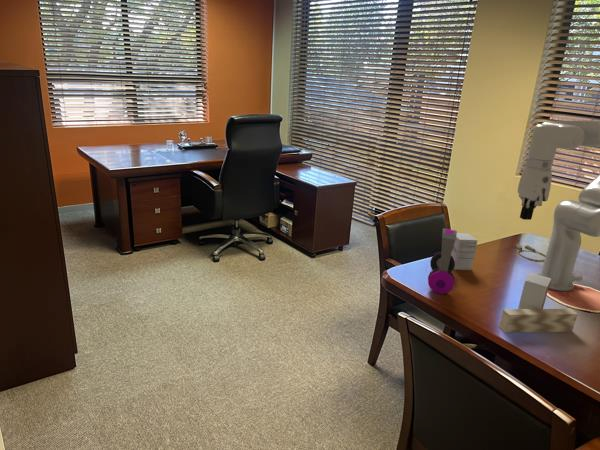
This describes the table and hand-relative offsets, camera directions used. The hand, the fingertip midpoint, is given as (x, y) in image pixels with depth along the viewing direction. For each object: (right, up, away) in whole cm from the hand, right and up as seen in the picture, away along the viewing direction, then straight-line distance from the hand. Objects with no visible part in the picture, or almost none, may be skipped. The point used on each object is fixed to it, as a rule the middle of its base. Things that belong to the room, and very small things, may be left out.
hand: (525, 218), depth 147 cm
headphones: (-24, -23, +13) cm, 36 cm away
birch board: (-4, -33, -13) cm, 36 cm away
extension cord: (+25, -15, +45) cm, 54 cm away
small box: (-2, -31, -6) cm, 32 cm away
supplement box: (-12, -18, +28) cm, 35 cm away
